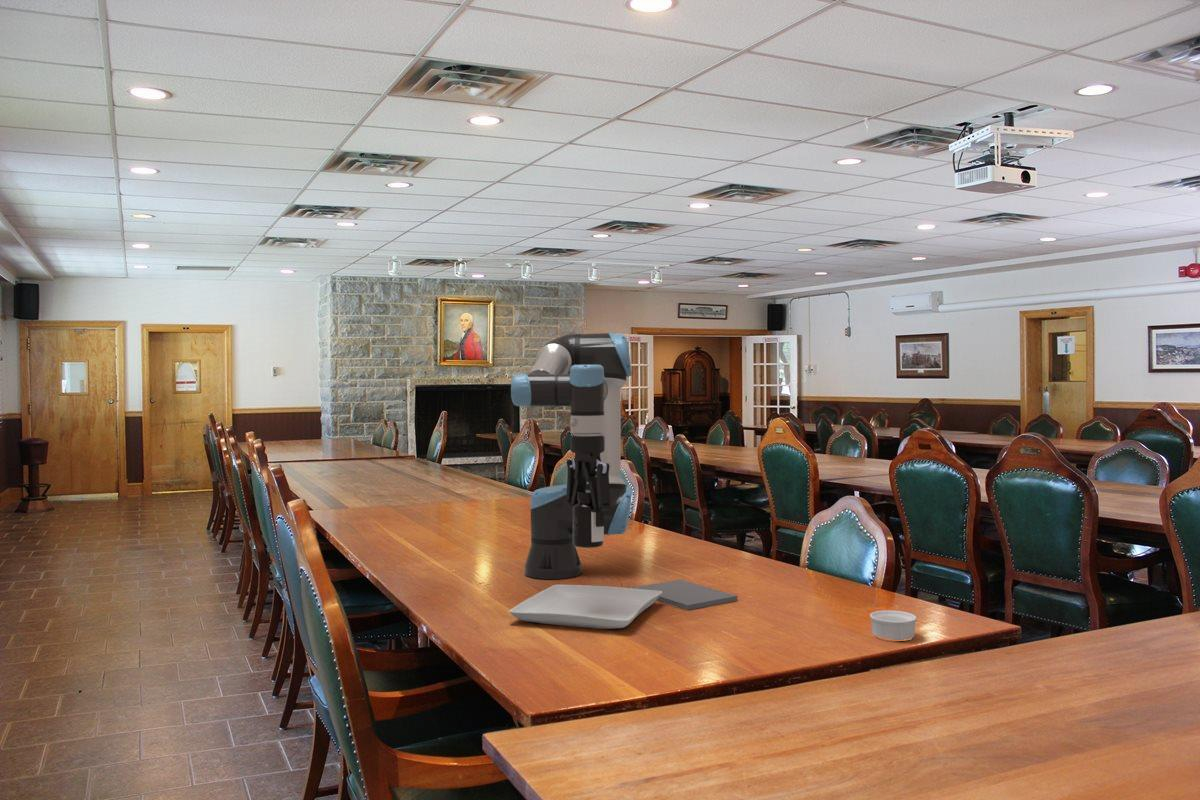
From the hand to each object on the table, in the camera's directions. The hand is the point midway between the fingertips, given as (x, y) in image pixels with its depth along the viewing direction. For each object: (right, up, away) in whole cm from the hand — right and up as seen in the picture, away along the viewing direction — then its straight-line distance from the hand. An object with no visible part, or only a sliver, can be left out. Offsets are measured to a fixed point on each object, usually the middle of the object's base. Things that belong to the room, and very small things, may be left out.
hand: (588, 538), depth 201 cm
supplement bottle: (0, -2, 0) cm, 2 cm away
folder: (+22, -16, +16) cm, 32 cm away
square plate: (0, -17, 0) cm, 17 cm away
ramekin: (+61, -17, -18) cm, 66 cm away
